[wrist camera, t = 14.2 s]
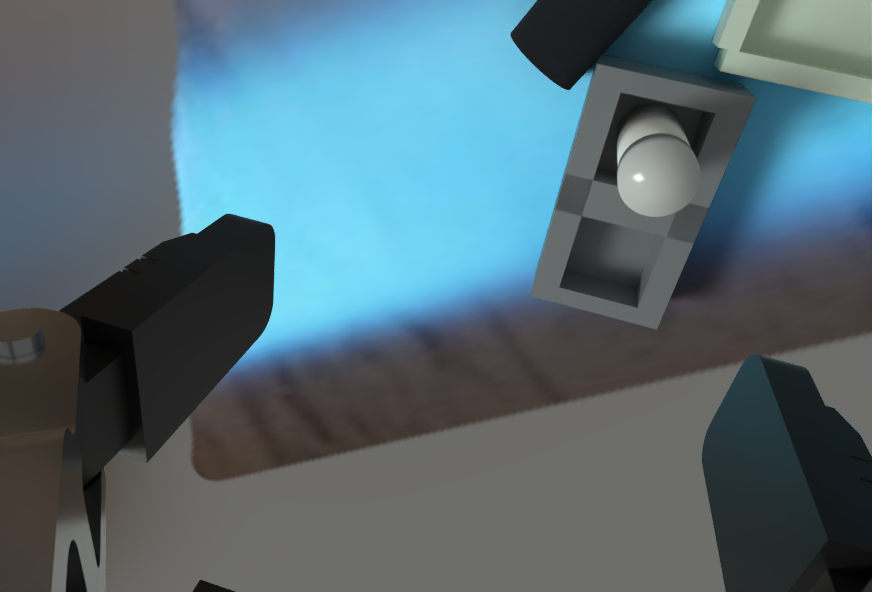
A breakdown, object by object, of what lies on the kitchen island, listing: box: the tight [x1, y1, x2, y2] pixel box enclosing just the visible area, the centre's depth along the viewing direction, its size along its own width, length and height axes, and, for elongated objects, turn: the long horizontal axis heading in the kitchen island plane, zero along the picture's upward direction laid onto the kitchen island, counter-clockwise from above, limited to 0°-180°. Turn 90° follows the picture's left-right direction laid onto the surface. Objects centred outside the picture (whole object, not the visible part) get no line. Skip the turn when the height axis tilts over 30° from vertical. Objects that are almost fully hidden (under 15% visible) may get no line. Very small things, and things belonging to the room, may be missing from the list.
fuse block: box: [531, 55, 756, 329], centre depth 41 cm, size 16×9×4 cm, turn 171°
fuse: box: [616, 104, 701, 217], centre depth 36 cm, size 4×4×9 cm
